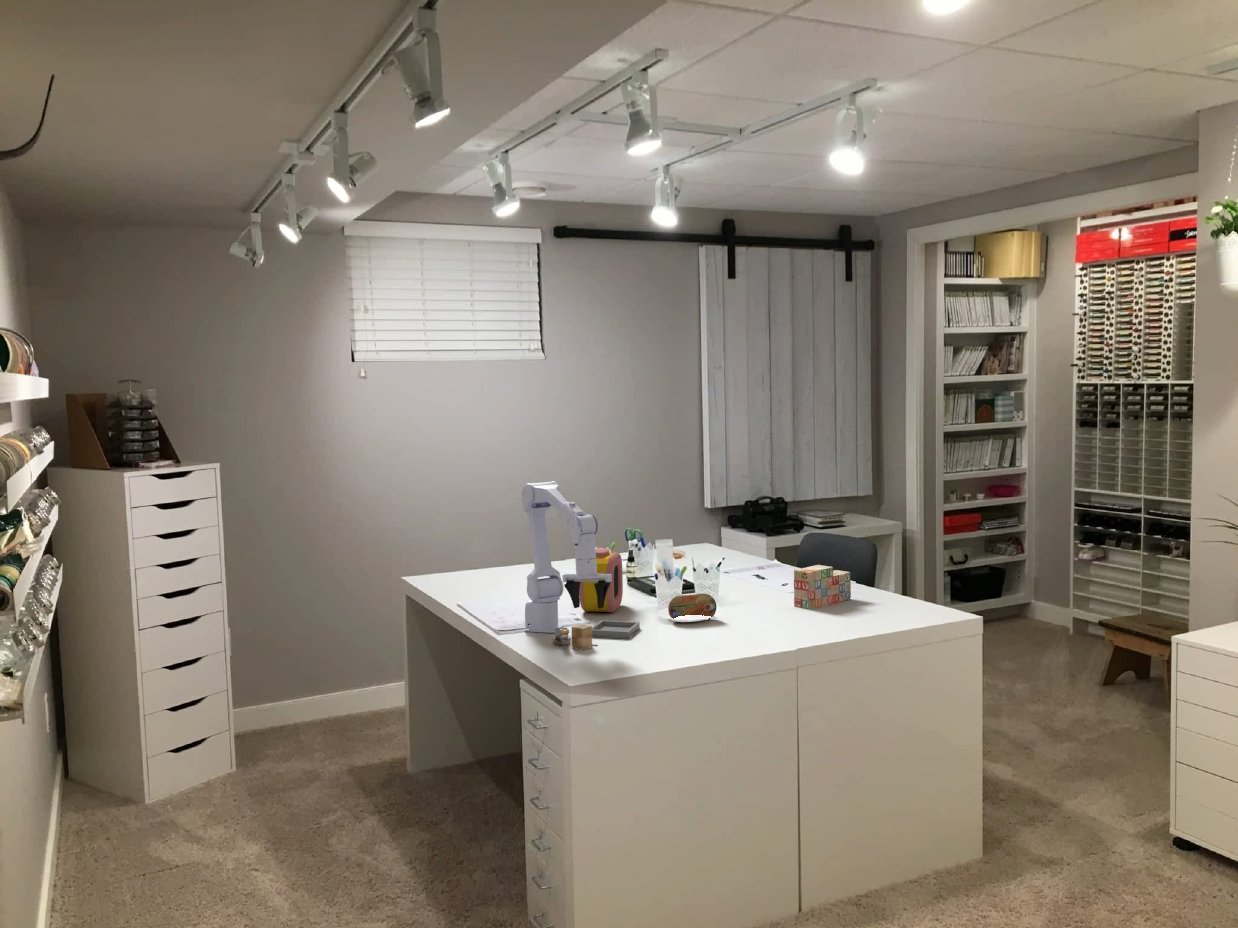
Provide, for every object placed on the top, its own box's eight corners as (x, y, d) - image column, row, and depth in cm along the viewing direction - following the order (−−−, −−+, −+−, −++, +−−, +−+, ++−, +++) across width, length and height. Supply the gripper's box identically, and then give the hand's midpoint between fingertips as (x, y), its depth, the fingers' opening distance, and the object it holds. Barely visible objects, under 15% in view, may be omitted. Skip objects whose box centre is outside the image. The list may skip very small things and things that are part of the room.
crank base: (550, 645, 283) (549, 641, 283) (556, 640, 288) (556, 636, 288) (594, 647, 279) (594, 643, 279) (599, 643, 284) (599, 639, 284)
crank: (554, 637, 286) (553, 623, 285) (566, 636, 287) (566, 622, 286) (559, 645, 277) (559, 631, 276) (572, 644, 277) (572, 630, 277)
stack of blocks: (836, 596, 338) (835, 560, 337) (851, 599, 333) (851, 563, 332) (793, 606, 325) (793, 569, 324) (808, 610, 320) (808, 571, 319)
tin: (670, 624, 305) (670, 597, 304) (667, 622, 308) (666, 594, 307) (717, 620, 309) (716, 593, 308) (713, 618, 312) (713, 591, 311)
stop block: (571, 648, 280) (571, 626, 279) (581, 644, 283) (580, 623, 282) (583, 650, 277) (582, 628, 277) (592, 646, 280) (591, 625, 280)
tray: (588, 636, 292) (588, 629, 291) (601, 626, 303) (601, 620, 303) (628, 638, 288) (628, 632, 288) (639, 628, 300) (639, 622, 299)
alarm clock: (612, 616, 316) (611, 555, 314) (578, 615, 318) (576, 554, 317) (624, 603, 334) (622, 545, 332) (591, 602, 336) (590, 545, 335)
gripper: (555, 560, 279) (558, 609, 279) (601, 560, 272) (605, 610, 272) (568, 557, 285) (571, 605, 285) (613, 557, 278) (617, 606, 279)
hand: (588, 607), depth 279 cm, fingers open, 7 cm apart
